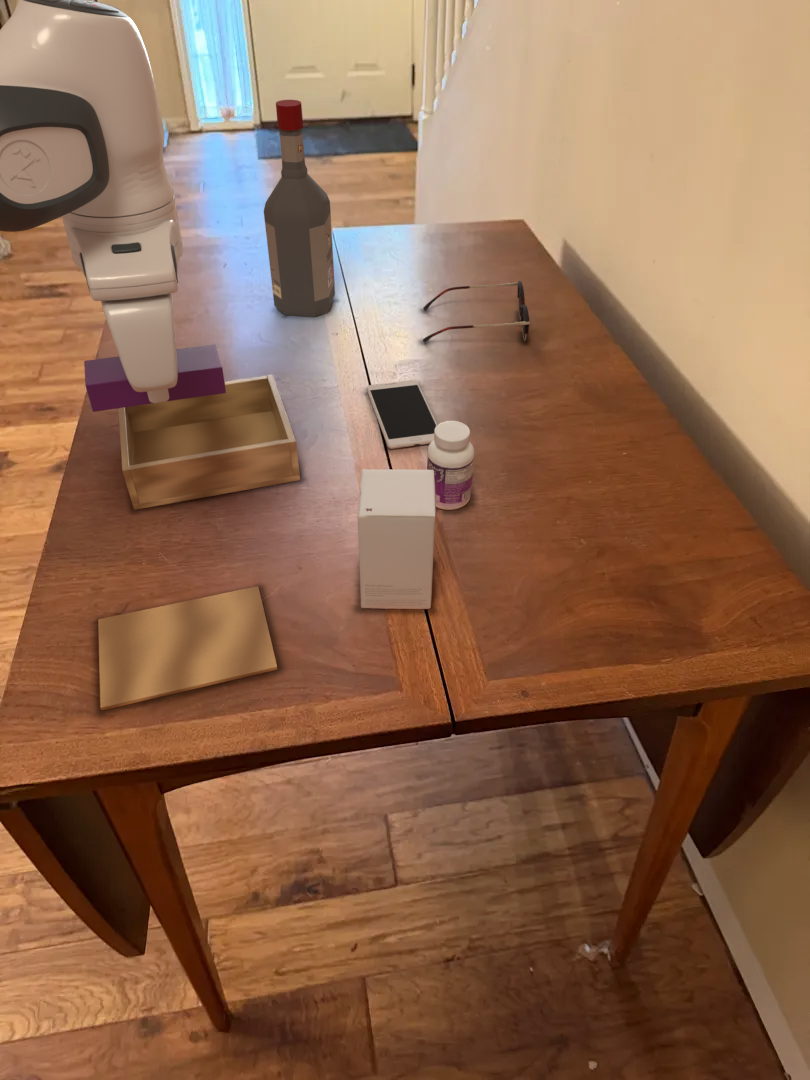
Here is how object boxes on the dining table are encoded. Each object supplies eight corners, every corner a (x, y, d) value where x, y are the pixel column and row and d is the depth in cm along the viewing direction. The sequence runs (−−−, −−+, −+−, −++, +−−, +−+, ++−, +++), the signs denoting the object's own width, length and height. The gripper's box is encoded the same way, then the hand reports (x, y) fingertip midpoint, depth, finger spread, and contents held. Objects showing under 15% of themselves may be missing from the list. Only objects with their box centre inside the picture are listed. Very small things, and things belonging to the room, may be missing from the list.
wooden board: (101, 710, 70) (100, 707, 70) (99, 622, 78) (97, 619, 77) (277, 669, 73) (277, 666, 73) (258, 589, 81) (258, 585, 81)
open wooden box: (134, 510, 90) (122, 470, 86) (128, 435, 101) (117, 397, 97) (300, 480, 95) (296, 441, 91) (277, 411, 105) (272, 374, 102)
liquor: (337, 294, 132) (326, 95, 111) (327, 319, 125) (314, 113, 105) (284, 291, 132) (264, 93, 112) (272, 315, 126) (248, 110, 105)
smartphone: (388, 446, 98) (365, 385, 109) (388, 450, 99) (365, 388, 110) (445, 439, 100) (417, 378, 110) (445, 443, 100) (417, 382, 111)
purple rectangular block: (92, 412, 70) (85, 385, 68) (91, 386, 73) (83, 360, 72) (226, 393, 73) (222, 367, 71) (219, 369, 76) (215, 343, 75)
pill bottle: (419, 488, 94) (420, 421, 87) (459, 479, 95) (464, 412, 88) (436, 516, 90) (439, 448, 83) (477, 506, 91) (484, 438, 85)
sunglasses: (528, 349, 119) (530, 318, 115) (423, 353, 119) (421, 323, 116) (520, 307, 129) (521, 278, 125) (423, 311, 129) (422, 282, 126)
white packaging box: (431, 611, 79) (436, 517, 70) (359, 609, 79) (354, 516, 71) (431, 560, 84) (435, 468, 76) (363, 559, 85) (360, 466, 76)
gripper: (81, 194, 70) (115, 334, 79) (87, 291, 56) (128, 448, 65) (153, 188, 71) (178, 327, 81) (177, 281, 57) (204, 436, 67)
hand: (156, 382), depth 73 cm, fingers closed on purple rectangular block, 4 cm apart
